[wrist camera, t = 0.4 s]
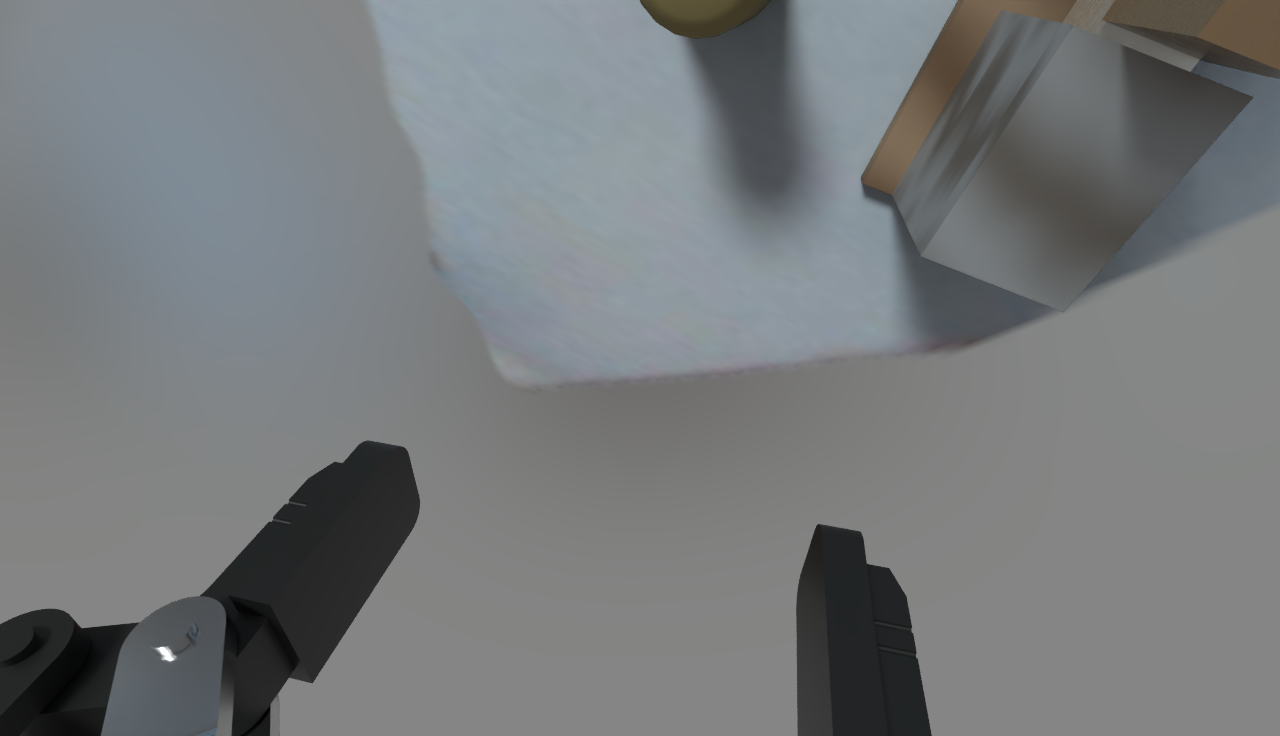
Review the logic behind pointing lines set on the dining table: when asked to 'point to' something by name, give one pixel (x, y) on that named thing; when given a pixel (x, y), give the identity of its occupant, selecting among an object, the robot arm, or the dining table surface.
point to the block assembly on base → (1040, 146)
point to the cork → (702, 15)
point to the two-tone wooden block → (1190, 30)
